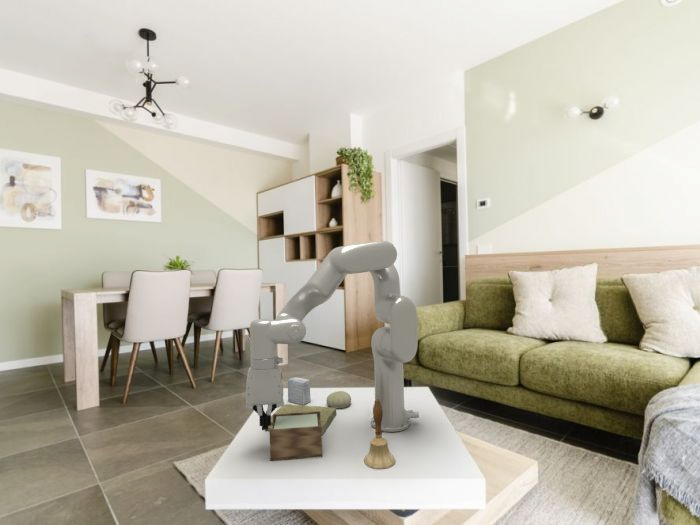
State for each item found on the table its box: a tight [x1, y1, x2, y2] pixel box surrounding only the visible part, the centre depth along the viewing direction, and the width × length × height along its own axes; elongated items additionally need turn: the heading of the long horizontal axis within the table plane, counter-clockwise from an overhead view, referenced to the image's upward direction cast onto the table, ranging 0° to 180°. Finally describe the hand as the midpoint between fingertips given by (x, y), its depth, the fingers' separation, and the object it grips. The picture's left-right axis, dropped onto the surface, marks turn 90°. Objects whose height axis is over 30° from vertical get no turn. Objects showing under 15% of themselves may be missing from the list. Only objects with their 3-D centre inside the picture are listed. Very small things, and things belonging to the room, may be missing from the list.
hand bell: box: [363, 399, 396, 470], centre depth 97 cm, size 8×8×16 cm
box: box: [269, 411, 323, 462], centre depth 104 cm, size 14×11×8 cm
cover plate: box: [274, 414, 318, 429], centre depth 105 cm, size 12×9×2 cm
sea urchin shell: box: [326, 390, 352, 409], centre depth 138 cm, size 9×8×8 cm
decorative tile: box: [264, 403, 337, 437], centre depth 122 cm, size 19×20×4 cm
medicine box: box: [287, 376, 311, 406], centre depth 142 cm, size 8×4×9 cm, turn 58°
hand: (265, 427), depth 103 cm, fingers closed
